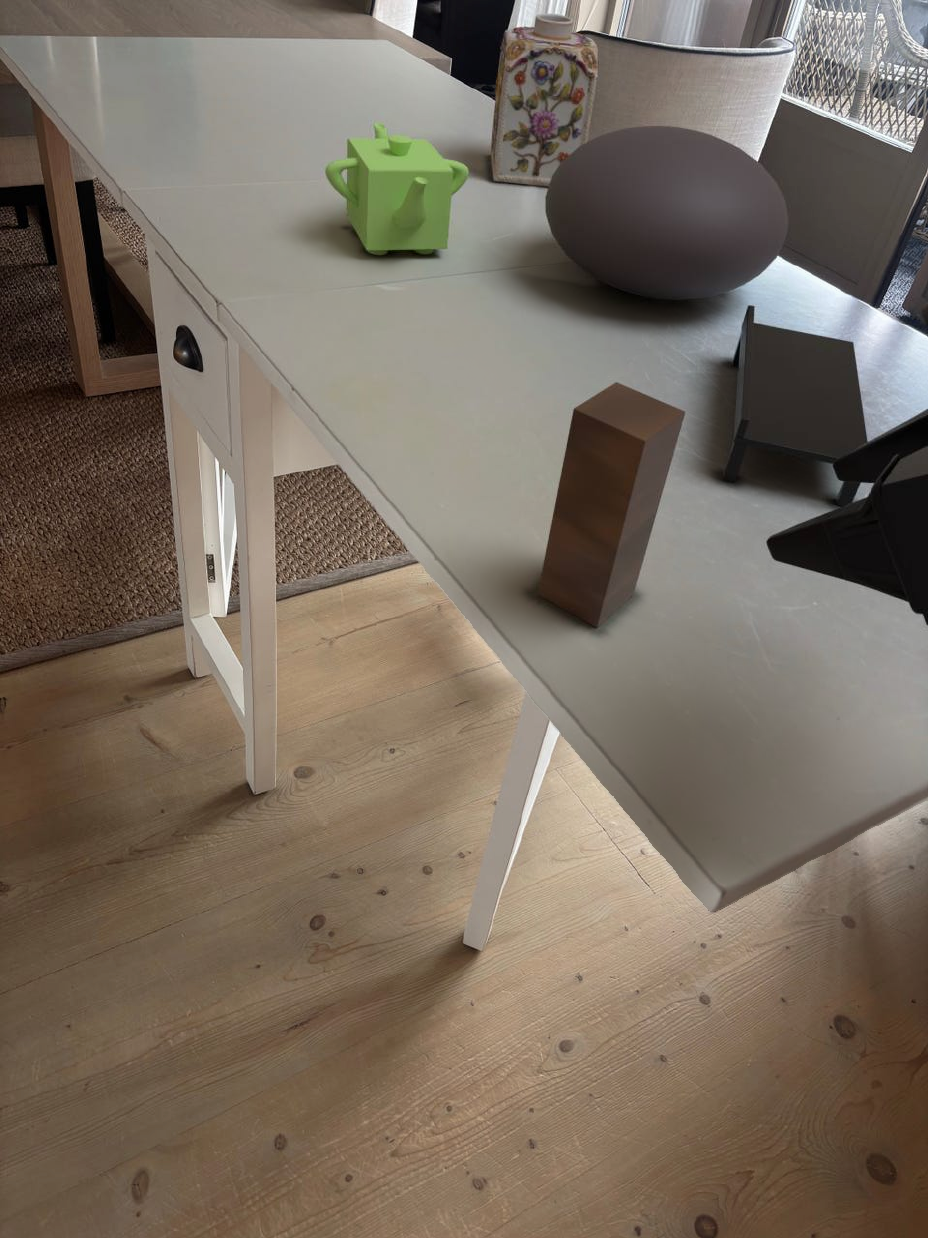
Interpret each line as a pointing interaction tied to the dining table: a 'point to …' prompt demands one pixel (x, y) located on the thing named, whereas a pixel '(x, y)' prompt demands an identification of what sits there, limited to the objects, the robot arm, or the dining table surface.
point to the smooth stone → (666, 212)
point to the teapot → (397, 191)
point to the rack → (796, 397)
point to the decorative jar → (541, 99)
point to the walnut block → (607, 500)
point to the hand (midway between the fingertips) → (805, 507)
